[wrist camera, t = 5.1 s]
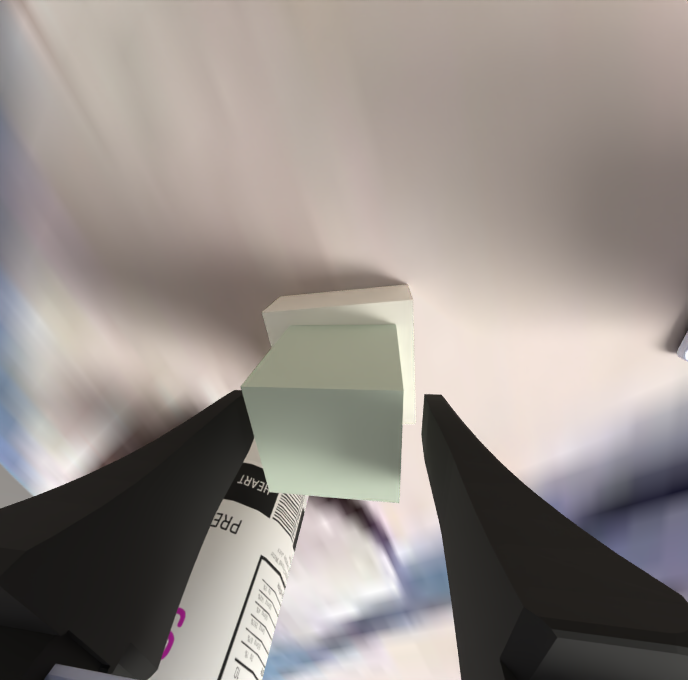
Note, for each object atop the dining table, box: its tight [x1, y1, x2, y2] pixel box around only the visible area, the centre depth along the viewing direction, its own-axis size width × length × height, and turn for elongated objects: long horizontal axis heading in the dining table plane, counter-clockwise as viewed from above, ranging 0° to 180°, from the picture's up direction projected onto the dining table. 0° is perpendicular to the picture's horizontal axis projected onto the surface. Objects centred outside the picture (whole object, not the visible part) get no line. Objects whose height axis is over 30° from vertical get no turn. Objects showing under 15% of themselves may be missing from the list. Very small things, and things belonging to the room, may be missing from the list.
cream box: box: [262, 284, 416, 424], centre depth 15 cm, size 7×7×3 cm
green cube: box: [241, 324, 404, 503], centre depth 11 cm, size 5×5×5 cm
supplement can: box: [148, 437, 309, 680], centre depth 15 cm, size 8×8×15 cm
